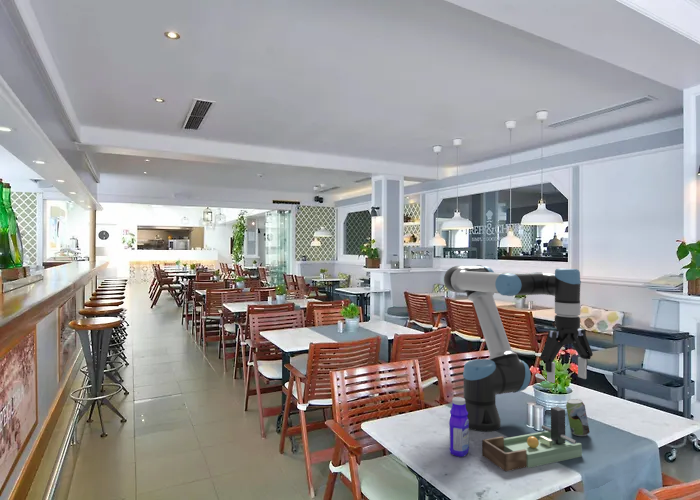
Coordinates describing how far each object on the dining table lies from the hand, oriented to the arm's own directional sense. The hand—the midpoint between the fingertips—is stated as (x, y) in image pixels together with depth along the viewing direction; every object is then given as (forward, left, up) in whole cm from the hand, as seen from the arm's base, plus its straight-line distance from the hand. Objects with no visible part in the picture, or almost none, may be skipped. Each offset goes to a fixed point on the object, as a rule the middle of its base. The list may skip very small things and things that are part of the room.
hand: (566, 379), depth 142 cm
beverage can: (0, +16, -23) cm, 28 cm away
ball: (-7, -12, -20) cm, 25 cm away
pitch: (-6, -9, -23) cm, 25 cm away
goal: (-13, -21, -23) cm, 34 cm away
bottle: (-26, -25, -23) cm, 43 cm away
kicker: (-3, -4, -20) cm, 21 cm away
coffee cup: (-17, +43, -23) cm, 51 cm away
